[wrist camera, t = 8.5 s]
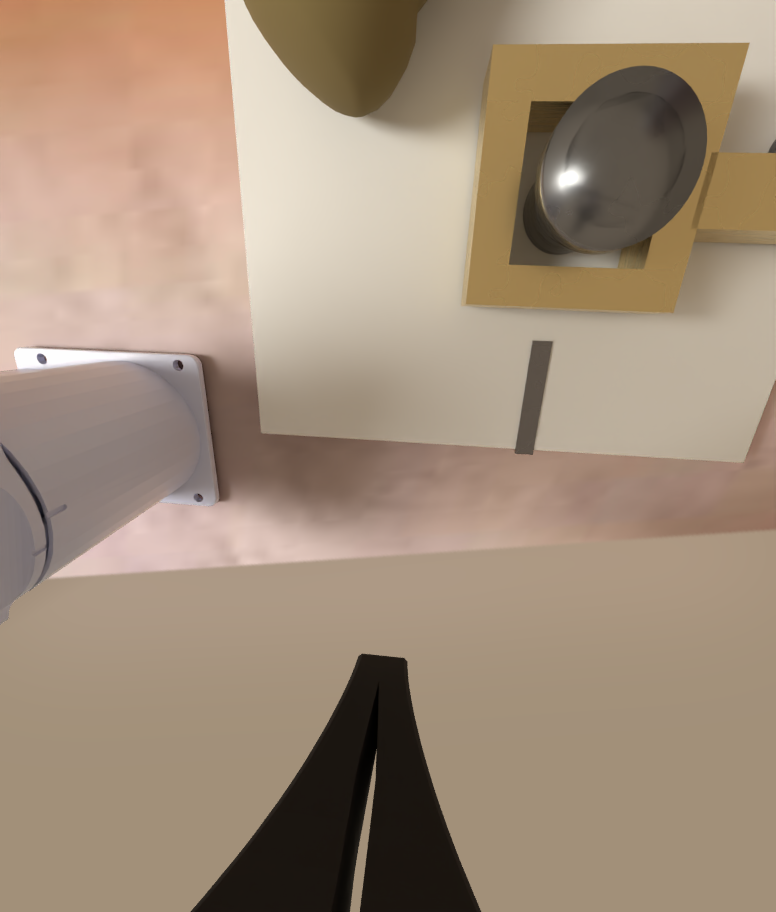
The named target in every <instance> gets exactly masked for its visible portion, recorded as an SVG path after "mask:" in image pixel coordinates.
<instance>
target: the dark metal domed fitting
mask: <svg viewBox="0 0 776 912" xmlns="http://www.w3.org/2000/svg"><path fill="white" fill-rule="evenodd" d="M706 148H707V125H706V119H705V114H704V111H703V108H702V105H701V103H700V101H699V99H698V97H697V95H696V93H695V92H694V91H693V89H692V88H691V86H690V85H689V84H688V83H687V82H686V81H685V80H684V79H682V78H681V77H679V76H678V75H676V74H675V73H673V72H671V71H669V70H666V69H664V68H659V67H655V66H644V65H643V66H632V67H628V68H624V69H620V70H618V71H615V72H613V73H610V74H608V75H607V76H605V77H603V78H601V79H599V80H598V81H596V82H595V83H594V84H592V85H591V86H590V87H588V88H587V89H586V90H585V91H584V92H583V93H582V94H581V95H580V96H579V97H578V98H577V99H576V100H575V101H574V102H573V103H572V105H571V106H570V107H569V108H568V110H567V111H566V113H565V114H564V116H563V117H562V118H561V120H560V121H559V123H558V124H557V126H556V127H555V129H554V130H553V132H552V133H551V135H550V137H549V139H548V140H547V142H546V144H545V147H544V149H543V151H542V153H541V157H540V160H539V163H538V167H537V172H536V180H535V183H534V184H533V185H532V187H531V189H530V190H529V192H528V195H527V197H526V200H525V203H524V208H523V224H524V229H525V232H526V234H527V236H528V238H529V240H530V241H531V242H532V244H533V245H534V246H535V247H536V248H538V249H539V250H541V251H543V252H545V253H548V254H553V255H563V254H568V253H571V252H574V251H575V252H579V253H583V254H592V255H593V254H605V253H610V252H613V251H616V250H620V249H622V248H625V247H628V246H631V245H634V244H636V243H638V242H640V241H643V240H645V239H647V238H648V237H650V236H652V235H653V234H655V233H656V232H658V231H659V230H660V229H662V228H663V227H664V226H665V225H666V224H667V223H668V222H669V221H671V220H672V219H673V218H674V216H675V215H676V214H677V213H678V212H679V211H680V210H681V208H682V207H683V205H684V204H685V203H686V201H687V200H688V198H689V197H690V195H691V193H692V191H693V190H694V188H695V186H696V183H697V181H698V179H699V177H700V174H701V170H702V167H703V164H704V160H705V155H706ZM768 153H776V140H775V141H774V142H773V144H772V145H771V147H770V149H769V151H768ZM552 343H553V341H533V340H532V347H531V353H530V359H529V365H528V372H527V378H526V384H525V391H524V397H523V403H522V409H521V416H520V422H519V428H518V434H517V441H516V447H515V454H530V455H533V450H534V444H535V439H536V433H537V427H538V422H539V416H540V410H541V405H542V399H543V394H544V388H545V382H546V377H547V371H548V365H549V360H550V354H551V348H552Z"/></svg>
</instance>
